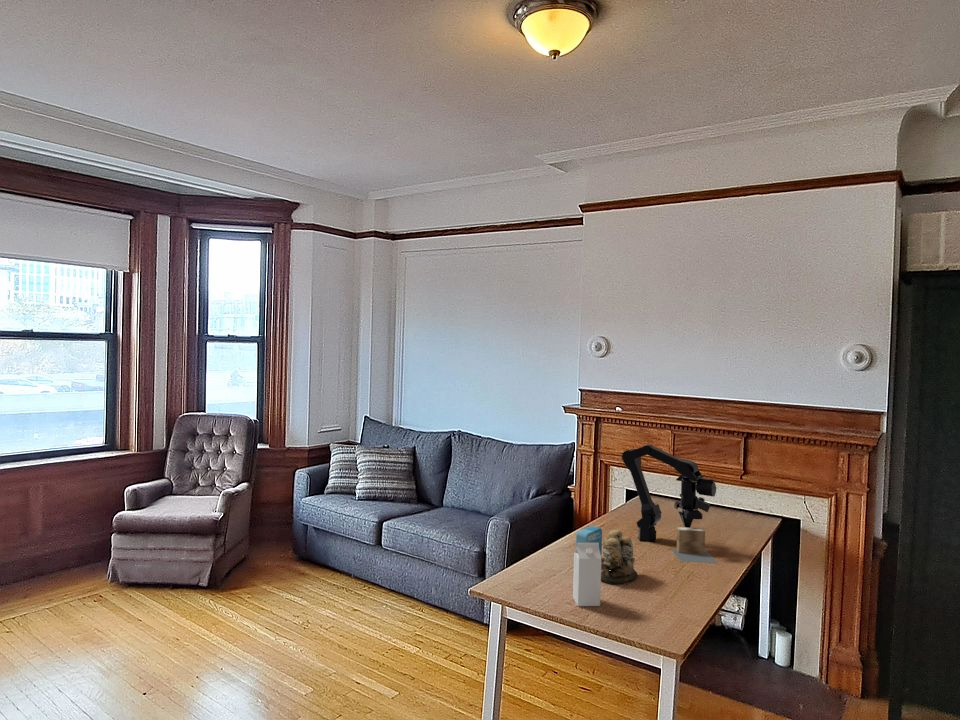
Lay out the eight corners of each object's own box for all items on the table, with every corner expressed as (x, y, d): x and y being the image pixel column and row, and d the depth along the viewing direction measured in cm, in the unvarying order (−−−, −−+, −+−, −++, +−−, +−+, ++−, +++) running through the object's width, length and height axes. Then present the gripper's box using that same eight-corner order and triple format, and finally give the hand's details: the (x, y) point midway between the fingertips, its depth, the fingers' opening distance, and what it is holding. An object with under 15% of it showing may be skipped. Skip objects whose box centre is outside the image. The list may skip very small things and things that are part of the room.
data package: (585, 566, 238) (586, 534, 238) (575, 563, 241) (576, 531, 241) (601, 558, 247) (602, 527, 247) (591, 555, 250) (592, 525, 250)
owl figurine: (620, 589, 216) (621, 539, 216) (590, 581, 224) (590, 532, 223) (644, 575, 230) (645, 527, 230) (614, 567, 237) (615, 521, 237)
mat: (680, 563, 244) (680, 561, 244) (670, 550, 259) (670, 549, 259) (718, 564, 243) (718, 562, 243) (705, 551, 258) (705, 550, 258)
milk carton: (572, 597, 208) (574, 539, 207) (594, 597, 208) (595, 539, 208) (577, 606, 200) (579, 546, 200) (600, 606, 201) (601, 546, 201)
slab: (678, 553, 254) (679, 529, 254) (676, 550, 257) (677, 527, 257) (704, 553, 254) (705, 530, 253) (701, 551, 257) (702, 528, 257)
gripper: (716, 498, 250) (715, 538, 251) (701, 488, 269) (700, 525, 269) (687, 497, 251) (686, 537, 251) (674, 487, 269) (673, 524, 270)
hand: (687, 531), depth 260 cm, fingers closed
